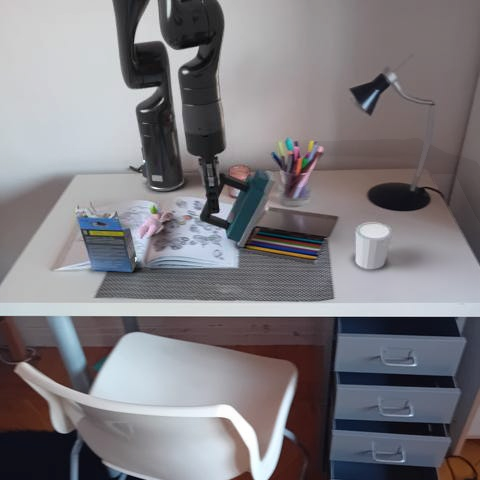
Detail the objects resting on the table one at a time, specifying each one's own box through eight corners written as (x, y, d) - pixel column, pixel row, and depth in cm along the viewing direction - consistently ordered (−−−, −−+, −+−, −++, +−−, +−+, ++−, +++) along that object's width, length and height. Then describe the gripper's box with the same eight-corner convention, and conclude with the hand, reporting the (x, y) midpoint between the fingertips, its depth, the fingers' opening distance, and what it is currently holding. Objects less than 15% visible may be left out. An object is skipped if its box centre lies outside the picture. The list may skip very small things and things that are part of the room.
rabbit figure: (150, 221, 120) (131, 245, 107) (147, 196, 117) (126, 218, 104) (176, 221, 119) (159, 246, 106) (173, 196, 116) (156, 219, 103)
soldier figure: (96, 213, 123) (130, 207, 117) (93, 232, 123) (128, 227, 116) (70, 202, 117) (104, 195, 110) (67, 222, 116) (101, 216, 110)
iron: (243, 247, 106) (197, 232, 102) (239, 231, 111) (195, 215, 108) (276, 184, 98) (227, 164, 94) (270, 169, 103) (224, 150, 99)
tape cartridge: (139, 262, 104) (127, 208, 96) (132, 273, 101) (119, 218, 93) (99, 260, 105) (84, 207, 97) (91, 270, 102) (75, 216, 94)
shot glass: (375, 248, 103) (379, 218, 98) (394, 265, 98) (400, 234, 93) (345, 256, 101) (348, 226, 97) (364, 274, 96) (368, 243, 92)
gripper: (182, 115, 97) (194, 197, 108) (184, 140, 87) (197, 228, 98) (221, 110, 98) (228, 193, 109) (227, 135, 87) (235, 224, 98)
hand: (213, 209), depth 103 cm, fingers closed on iron, 2 cm apart
